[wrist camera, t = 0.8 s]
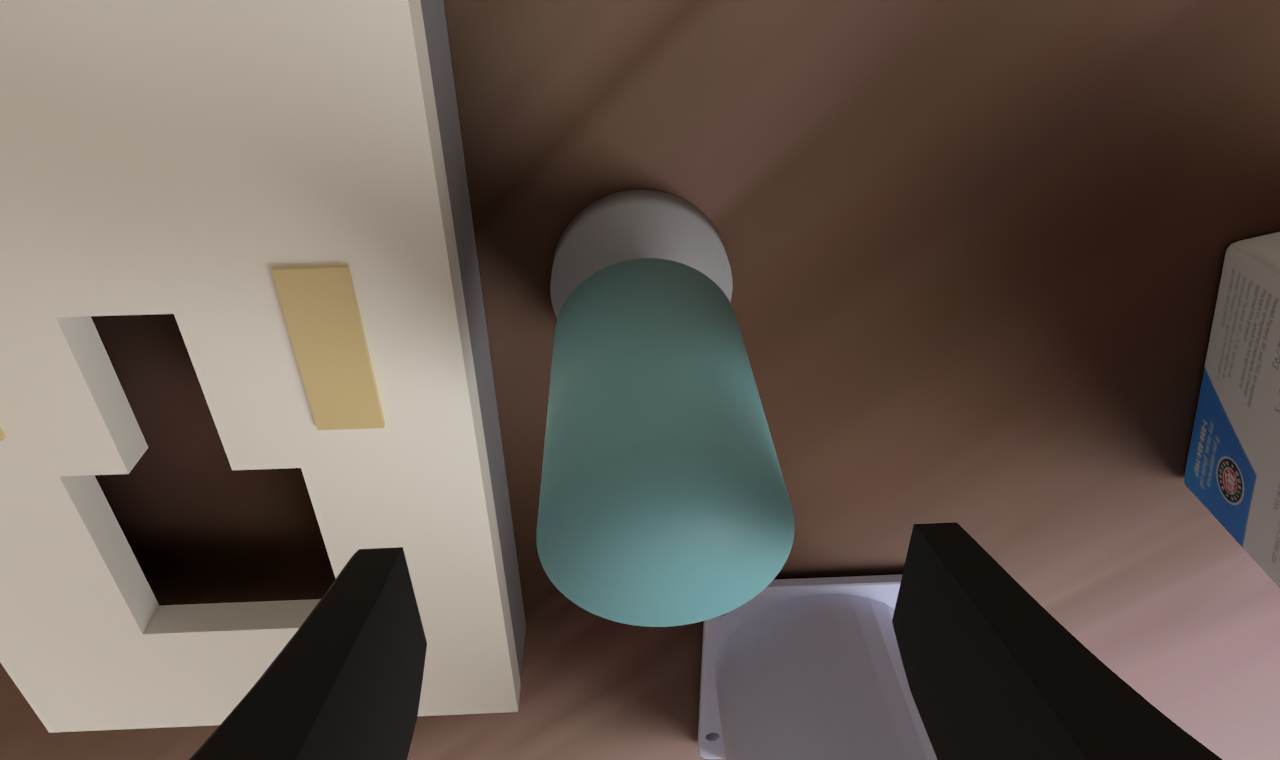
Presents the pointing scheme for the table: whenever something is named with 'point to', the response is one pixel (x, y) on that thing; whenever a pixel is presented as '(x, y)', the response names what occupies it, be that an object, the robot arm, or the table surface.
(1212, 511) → the ink box
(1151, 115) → the table surface
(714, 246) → the peg
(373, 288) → the board
